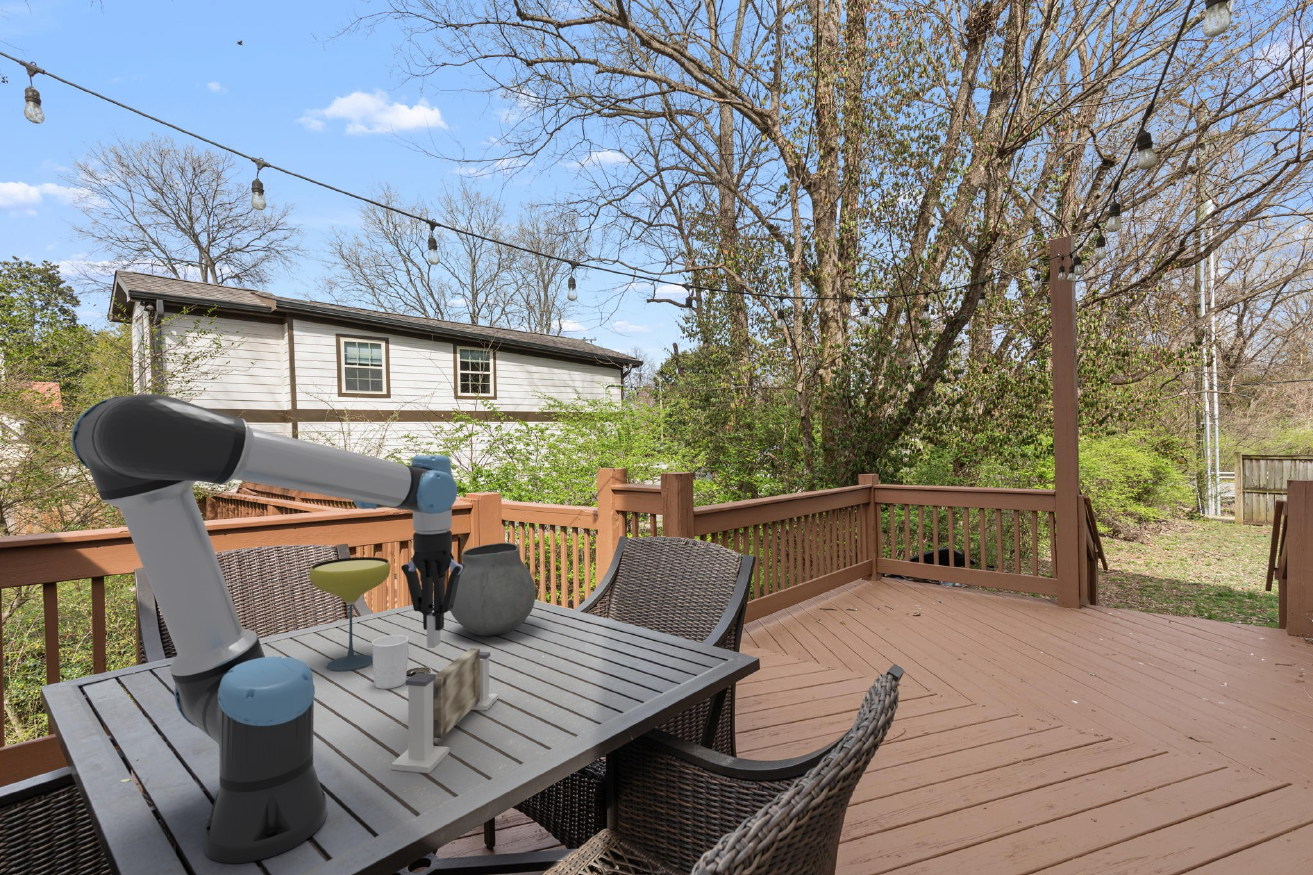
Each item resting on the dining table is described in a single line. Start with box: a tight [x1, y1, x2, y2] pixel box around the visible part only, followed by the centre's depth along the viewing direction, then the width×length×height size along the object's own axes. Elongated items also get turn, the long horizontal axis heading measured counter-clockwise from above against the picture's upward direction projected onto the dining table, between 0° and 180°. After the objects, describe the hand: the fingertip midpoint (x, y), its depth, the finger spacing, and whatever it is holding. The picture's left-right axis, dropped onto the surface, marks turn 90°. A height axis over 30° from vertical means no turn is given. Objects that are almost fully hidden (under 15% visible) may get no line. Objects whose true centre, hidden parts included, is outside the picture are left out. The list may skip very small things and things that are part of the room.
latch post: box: [470, 651, 499, 711], centre depth 134 cm, size 6×6×11 cm
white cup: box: [371, 634, 410, 690], centre depth 145 cm, size 8×8×10 cm
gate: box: [433, 647, 481, 746], centre depth 122 cm, size 20×2×11 cm, turn 171°
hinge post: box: [390, 672, 450, 774], centre depth 110 cm, size 7×7×15 cm
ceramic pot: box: [449, 542, 536, 637], centre depth 182 cm, size 24×24×25 cm
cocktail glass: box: [309, 556, 391, 672], centre depth 157 cm, size 18×18×25 cm
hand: (433, 645), depth 128 cm, fingers closed
